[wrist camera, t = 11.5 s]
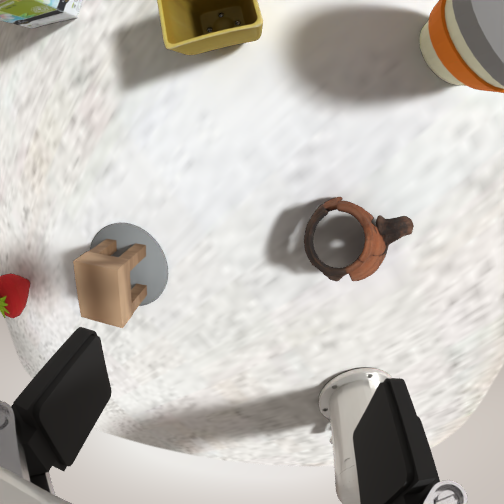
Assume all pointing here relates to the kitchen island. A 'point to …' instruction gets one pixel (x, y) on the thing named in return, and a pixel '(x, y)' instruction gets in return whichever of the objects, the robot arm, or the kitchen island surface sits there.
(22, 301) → the strawberry
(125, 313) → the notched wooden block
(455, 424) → the kitchen island surface
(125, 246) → the mat
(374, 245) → the brown curved piece
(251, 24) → the flower pot
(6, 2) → the tea box
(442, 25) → the reusable coffee cup
